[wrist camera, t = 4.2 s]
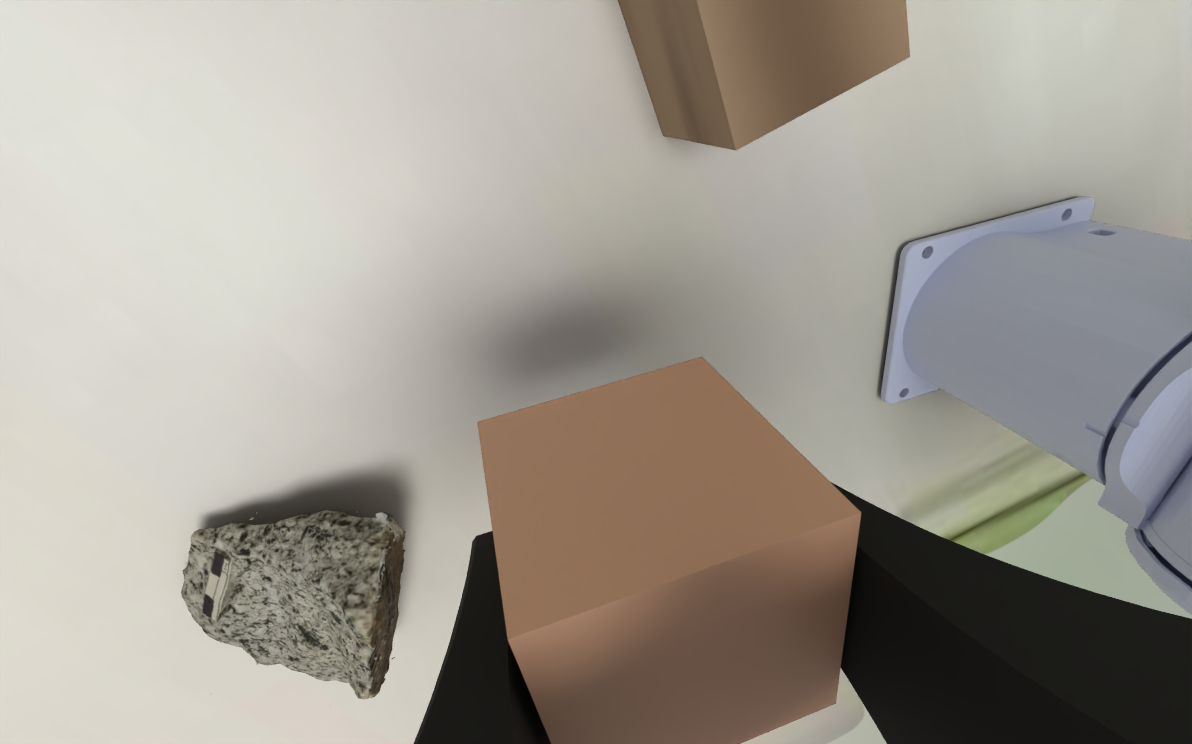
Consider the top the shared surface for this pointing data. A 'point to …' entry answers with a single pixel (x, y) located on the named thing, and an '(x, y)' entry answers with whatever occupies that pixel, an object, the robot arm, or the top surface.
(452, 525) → the top surface
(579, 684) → the terracotta block
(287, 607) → the rock sample
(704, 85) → the walnut block
